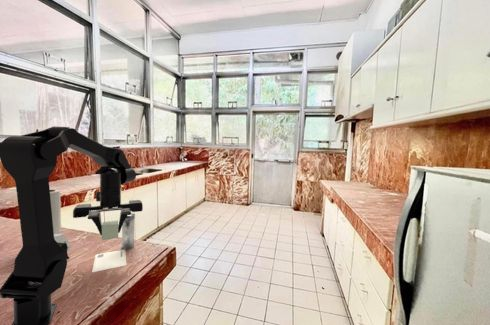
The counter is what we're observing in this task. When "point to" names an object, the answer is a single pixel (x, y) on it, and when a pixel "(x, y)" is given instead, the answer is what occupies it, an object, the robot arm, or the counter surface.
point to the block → (109, 230)
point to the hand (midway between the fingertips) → (110, 233)
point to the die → (62, 239)
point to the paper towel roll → (56, 210)
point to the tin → (128, 232)
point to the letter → (109, 260)
